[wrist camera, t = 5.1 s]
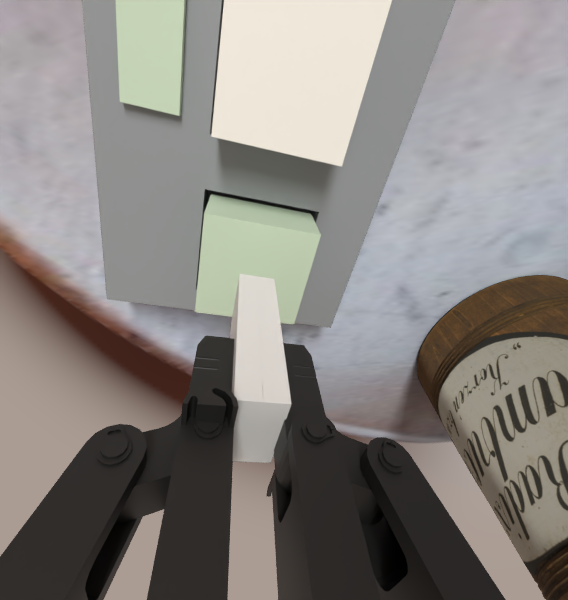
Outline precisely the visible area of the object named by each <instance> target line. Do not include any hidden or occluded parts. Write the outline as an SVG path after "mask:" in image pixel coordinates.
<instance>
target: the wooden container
mask: <svg viewBox="0 0 568 600" xmlns="http://www.w3.org/2000/svg"><path fill="white" fill-rule="evenodd" d="M417 372H418V377H419V380H420V382H421V384H422V386H423V388H424V390H425V392H426V394H427V395H428V397H429V399H430V401H431V403H432V405H433V407H434V408H435V410H436V412H437V414H438V415H439V418H440V420H441V421H442V423H443V425H444V427H445V429H446V431H447V432H448V434H449V436H450V438H451V440H452V441H453V443H454V445H455V447H456V448H457V450H458V452H459V454H460V455H461V457H462V458H463V460H464V462H465V464H466V465H467V467H468V469H469V471H470V473H471V474H472V476H473V478H474V479H475V481H476V482H477V484H478V486H479V487H480V489H481V490H482V492H483V494H484V496H485V497H486V499H487V501H488V502H489V504H490V506H491V507H492V509H493V511H494V513H495V514H496V516H497V518H498V519H499V521H500V523H501V525H502V526H503V528H504V530H505V531H506V533H507V535H508V537H509V538H510V540H511V542H512V543H513V545H514V547H515V548H516V550H517V552H518V553H519V555H520V557H521V559H522V560H523V562H524V564H525V565H526V567H527V569H528V570H529V572H530V573H531V575H532V577H533V578H534V580H535V581H536V582H537V583H538V587H539V589H540V590H541V591H542V594H543V597H544V598H545V599H546V600H568V280H566V279H563V278H560V277H555V276H548V275H533V276H524V277H518V278H514V279H510V280H506V281H503V282H500V283H497V284H494V285H492V286H490V287H487V288H485V289H483V290H481V291H479V292H477V293H475V294H473V295H472V296H470V297H468V298H467V299H465V300H464V301H462V302H461V303H459V304H458V305H457V306H455V307H454V308H453V309H451V310H450V311H449V312H448V313H447V314H446V315H445V316H444V317H443V318H442V319H441V320H440V321H439V322H438V323H437V324H436V325H435V326H434V327H433V329H432V330H431V332H430V333H429V334H428V336H427V337H426V339H425V341H424V343H423V345H422V347H421V349H420V352H419V356H418V364H417Z"/></svg>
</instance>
